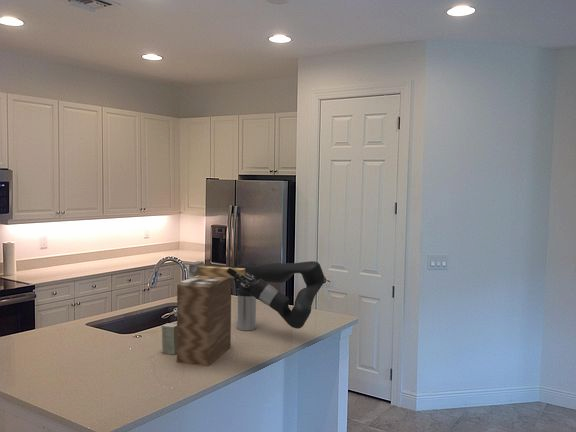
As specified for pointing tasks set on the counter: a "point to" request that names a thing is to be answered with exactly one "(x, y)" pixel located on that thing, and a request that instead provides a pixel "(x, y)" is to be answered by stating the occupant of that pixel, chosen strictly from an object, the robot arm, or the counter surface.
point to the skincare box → (169, 338)
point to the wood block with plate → (211, 270)
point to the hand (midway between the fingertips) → (230, 269)
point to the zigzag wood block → (203, 319)
